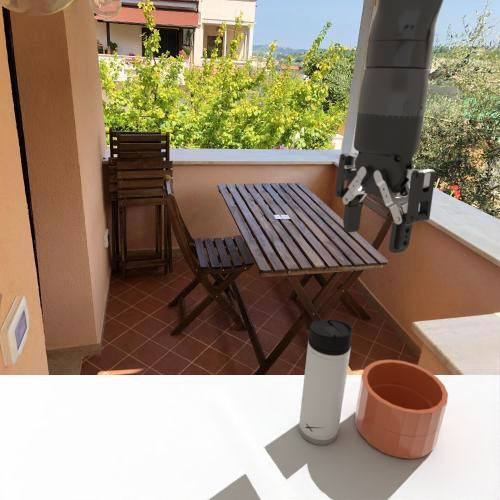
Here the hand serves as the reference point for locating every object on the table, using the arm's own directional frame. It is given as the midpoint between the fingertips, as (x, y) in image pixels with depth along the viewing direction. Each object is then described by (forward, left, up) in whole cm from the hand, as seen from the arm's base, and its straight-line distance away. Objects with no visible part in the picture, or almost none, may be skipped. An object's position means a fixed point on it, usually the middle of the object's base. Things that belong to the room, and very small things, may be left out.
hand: (372, 240), depth 56 cm
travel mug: (+3, -3, -34) cm, 34 cm away
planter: (-9, +2, -34) cm, 35 cm away
